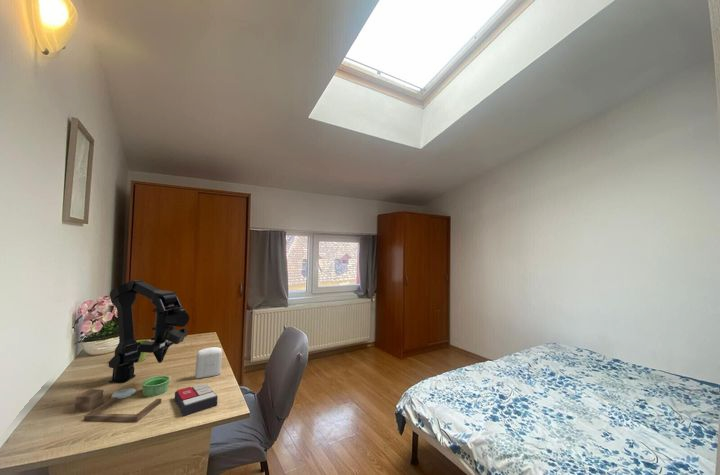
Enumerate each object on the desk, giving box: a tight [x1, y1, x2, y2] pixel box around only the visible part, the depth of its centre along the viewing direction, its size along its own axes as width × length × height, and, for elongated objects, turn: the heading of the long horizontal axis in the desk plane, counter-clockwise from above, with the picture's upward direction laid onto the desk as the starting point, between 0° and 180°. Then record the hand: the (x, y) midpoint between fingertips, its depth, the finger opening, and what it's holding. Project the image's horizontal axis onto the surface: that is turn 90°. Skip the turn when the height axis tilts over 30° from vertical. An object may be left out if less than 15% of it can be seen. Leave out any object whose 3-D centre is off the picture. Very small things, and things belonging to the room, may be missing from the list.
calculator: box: [174, 382, 219, 417], centre depth 104 cm, size 11×4×15 cm
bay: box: [83, 397, 162, 423], centre depth 96 cm, size 17×12×2 cm
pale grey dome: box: [110, 387, 136, 400], centre depth 107 cm, size 7×7×1 cm
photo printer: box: [194, 346, 223, 379], centre depth 126 cm, size 10×4×12 cm, turn 123°
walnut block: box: [74, 388, 105, 413], centre depth 98 cm, size 5×5×5 cm
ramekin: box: [141, 375, 171, 397], centre depth 110 cm, size 9×9×4 cm
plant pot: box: [134, 339, 151, 364], centre depth 138 cm, size 9×9×9 cm
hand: (160, 362), depth 113 cm, fingers closed
